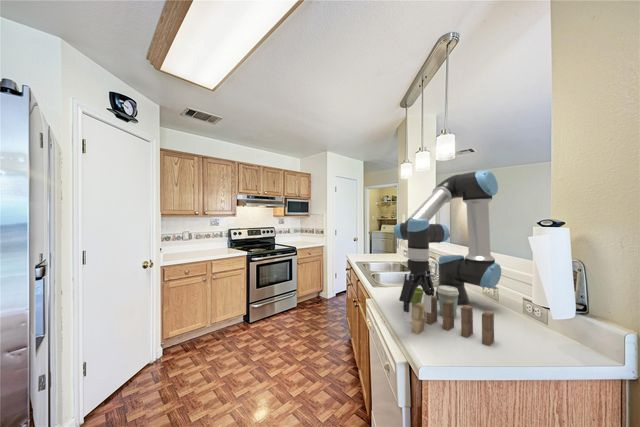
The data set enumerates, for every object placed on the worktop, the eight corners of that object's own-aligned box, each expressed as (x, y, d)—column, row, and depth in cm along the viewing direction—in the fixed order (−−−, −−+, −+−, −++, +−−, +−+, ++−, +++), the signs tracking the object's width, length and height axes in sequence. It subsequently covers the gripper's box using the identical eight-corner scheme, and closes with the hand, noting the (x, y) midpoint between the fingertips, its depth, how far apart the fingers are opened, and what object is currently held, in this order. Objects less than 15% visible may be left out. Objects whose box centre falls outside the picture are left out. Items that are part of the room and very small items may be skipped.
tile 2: (487, 338, 82) (487, 310, 82) (494, 341, 80) (493, 312, 80) (482, 343, 78) (481, 314, 79) (489, 346, 77) (488, 316, 77)
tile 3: (466, 331, 87) (466, 304, 87) (472, 333, 85) (472, 306, 85) (461, 335, 84) (460, 308, 84) (467, 338, 82) (467, 309, 82)
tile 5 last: (432, 319, 97) (432, 295, 97) (437, 321, 95) (437, 296, 96) (426, 322, 94) (426, 298, 94) (431, 324, 92) (431, 299, 93)
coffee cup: (462, 320, 96) (462, 291, 96) (440, 318, 98) (440, 290, 98) (455, 312, 105) (454, 285, 105) (434, 310, 106) (434, 284, 106)
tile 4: (448, 325, 92) (448, 300, 92) (454, 327, 90) (453, 301, 90) (442, 328, 89) (442, 302, 89) (448, 330, 87) (448, 304, 87)
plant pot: (400, 303, 115) (400, 286, 115) (419, 304, 114) (419, 286, 115) (406, 311, 105) (406, 292, 106) (427, 311, 105) (427, 292, 105)
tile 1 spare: (419, 328, 89) (419, 302, 89) (424, 330, 87) (424, 304, 88) (412, 332, 86) (412, 305, 86) (417, 334, 84) (417, 307, 85)
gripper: (425, 255, 98) (425, 305, 97) (389, 261, 83) (389, 320, 82) (443, 257, 92) (443, 311, 91) (408, 264, 77) (408, 329, 76)
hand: (417, 316), depth 87 cm, fingers open, 13 cm apart
